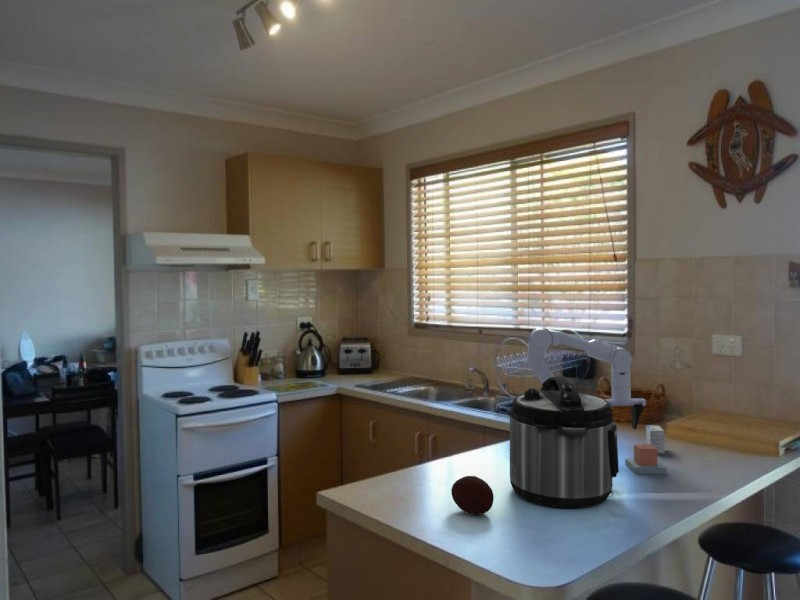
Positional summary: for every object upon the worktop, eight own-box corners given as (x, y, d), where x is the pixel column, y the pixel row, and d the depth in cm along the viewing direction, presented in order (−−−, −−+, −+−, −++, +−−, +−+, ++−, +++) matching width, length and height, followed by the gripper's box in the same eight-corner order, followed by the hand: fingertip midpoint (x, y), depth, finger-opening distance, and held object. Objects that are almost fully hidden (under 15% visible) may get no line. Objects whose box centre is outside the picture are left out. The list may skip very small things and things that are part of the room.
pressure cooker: (596, 523, 151) (595, 390, 150) (489, 500, 167) (488, 381, 166) (631, 488, 175) (631, 374, 174) (536, 471, 192) (535, 367, 191)
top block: (634, 474, 183) (634, 467, 183) (625, 465, 192) (625, 458, 192) (666, 474, 182) (666, 467, 182) (655, 465, 191) (655, 458, 191)
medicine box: (664, 457, 204) (664, 431, 203) (650, 457, 204) (650, 430, 204) (659, 451, 211) (659, 425, 211) (645, 450, 212) (645, 425, 212)
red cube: (640, 465, 184) (640, 448, 184) (633, 460, 189) (633, 444, 189) (657, 465, 184) (657, 448, 184) (650, 460, 189) (650, 444, 189)
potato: (481, 524, 151) (480, 485, 150) (443, 512, 159) (442, 475, 159) (502, 514, 157) (502, 477, 157) (464, 502, 165) (464, 467, 165)
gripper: (601, 388, 195) (602, 432, 196) (648, 387, 195) (650, 430, 196) (595, 385, 202) (596, 427, 203) (640, 383, 202) (641, 425, 203)
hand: (622, 428), depth 200 cm, fingers open, 7 cm apart
